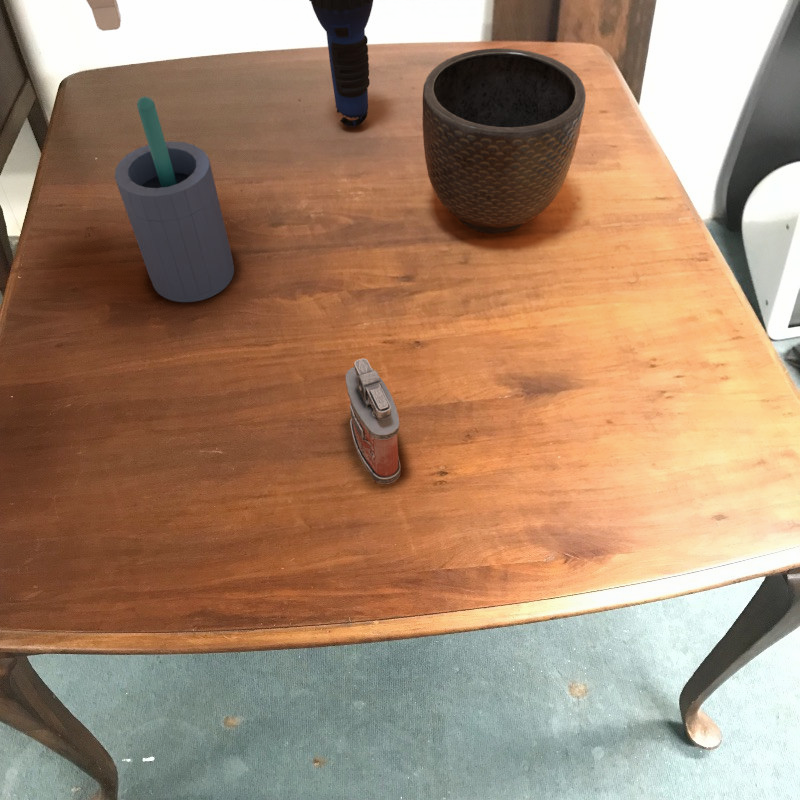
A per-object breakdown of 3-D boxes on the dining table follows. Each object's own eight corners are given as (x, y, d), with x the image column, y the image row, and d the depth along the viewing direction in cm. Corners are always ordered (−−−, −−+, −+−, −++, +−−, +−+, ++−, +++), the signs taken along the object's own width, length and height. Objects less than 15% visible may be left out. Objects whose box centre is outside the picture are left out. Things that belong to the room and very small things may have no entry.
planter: (451, 272, 87) (458, 146, 75) (402, 185, 97) (400, 62, 85) (588, 238, 90) (617, 113, 78) (526, 158, 101) (543, 36, 88)
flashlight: (311, 122, 107) (293, -32, 91) (360, 104, 109) (351, -48, 94) (340, 149, 103) (327, -7, 87) (390, 130, 105) (386, -25, 90)
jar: (151, 307, 84) (112, 201, 73) (152, 253, 90) (116, 147, 79) (236, 295, 85) (210, 189, 74) (232, 242, 91) (207, 136, 80)
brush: (172, 285, 85) (117, 114, 69) (172, 258, 88) (118, 87, 72) (214, 279, 86) (169, 107, 70) (212, 252, 89) (168, 82, 73)
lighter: (343, 422, 74) (335, 352, 66) (376, 412, 75) (372, 340, 67) (373, 489, 69) (368, 421, 61) (408, 476, 70) (407, 408, 62)
